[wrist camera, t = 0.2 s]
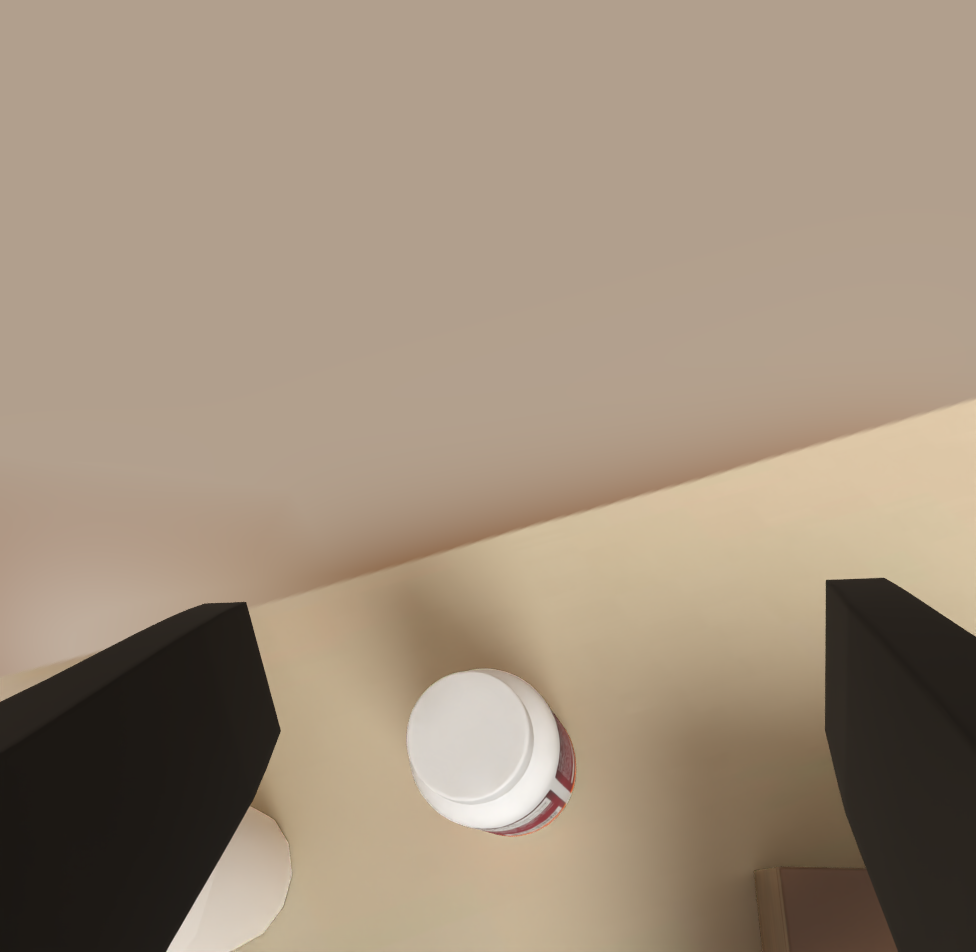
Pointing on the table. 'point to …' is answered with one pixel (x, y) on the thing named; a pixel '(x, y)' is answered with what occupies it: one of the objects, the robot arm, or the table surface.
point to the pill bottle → (490, 753)
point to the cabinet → (820, 911)
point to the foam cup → (240, 890)
